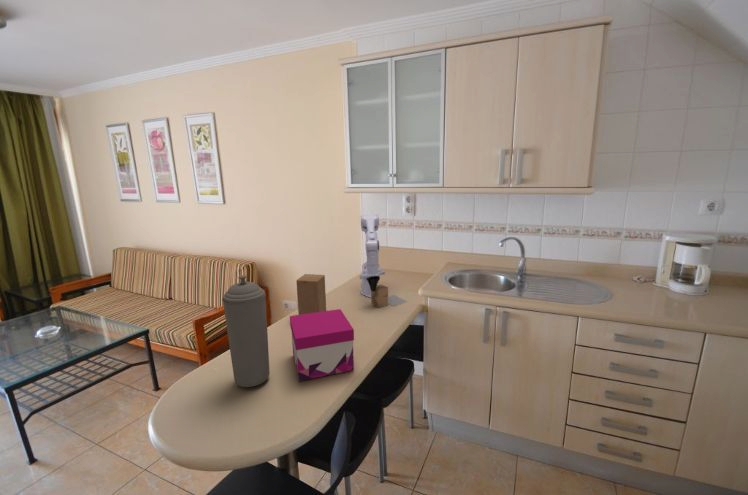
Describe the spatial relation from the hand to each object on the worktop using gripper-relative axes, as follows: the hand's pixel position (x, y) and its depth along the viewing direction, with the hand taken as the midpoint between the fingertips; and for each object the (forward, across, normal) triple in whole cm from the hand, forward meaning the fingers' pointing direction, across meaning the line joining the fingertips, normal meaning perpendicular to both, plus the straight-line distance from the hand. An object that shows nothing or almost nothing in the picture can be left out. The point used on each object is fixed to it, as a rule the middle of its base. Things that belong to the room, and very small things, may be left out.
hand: (373, 290), depth 168 cm
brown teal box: (+9, +4, 0) cm, 10 cm away
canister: (+9, -68, -24) cm, 73 cm away
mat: (+9, +14, 0) cm, 16 cm away
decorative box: (+9, -45, -29) cm, 54 cm away
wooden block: (+9, -30, +7) cm, 32 cm away
